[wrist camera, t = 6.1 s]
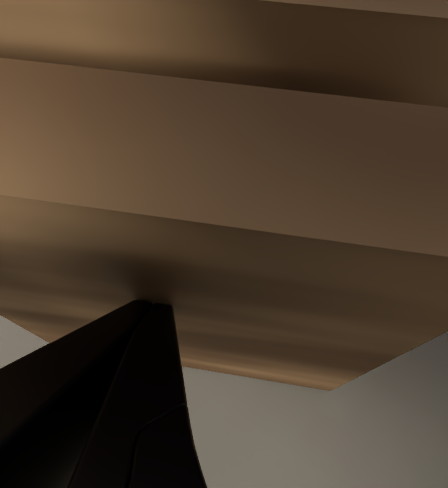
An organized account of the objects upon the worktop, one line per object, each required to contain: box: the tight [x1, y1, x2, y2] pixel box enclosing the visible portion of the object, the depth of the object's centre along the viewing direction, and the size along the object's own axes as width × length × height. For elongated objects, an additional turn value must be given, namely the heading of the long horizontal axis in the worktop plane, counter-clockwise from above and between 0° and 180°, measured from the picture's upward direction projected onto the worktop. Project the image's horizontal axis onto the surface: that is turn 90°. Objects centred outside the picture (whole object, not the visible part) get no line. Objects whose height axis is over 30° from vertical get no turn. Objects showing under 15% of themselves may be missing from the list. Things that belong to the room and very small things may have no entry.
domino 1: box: [0, 0, 448, 108], centre depth 13 cm, size 2×11×12 cm, turn 81°
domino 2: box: [0, 58, 448, 391], centre depth 11 cm, size 2×11×12 cm, turn 81°
